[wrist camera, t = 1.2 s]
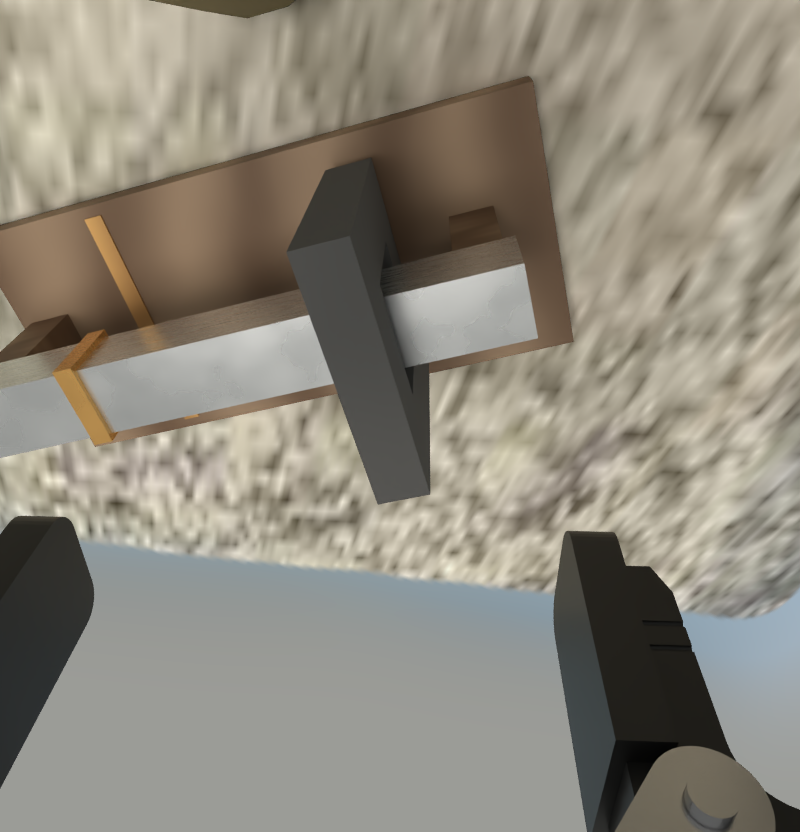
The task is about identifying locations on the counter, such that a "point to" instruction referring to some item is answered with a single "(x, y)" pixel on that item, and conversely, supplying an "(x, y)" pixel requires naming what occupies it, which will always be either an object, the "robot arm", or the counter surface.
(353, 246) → the dark grey flat piece
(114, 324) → the board
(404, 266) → the grey square bar
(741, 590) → the counter surface
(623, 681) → the robot arm
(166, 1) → the squeeze bottle
